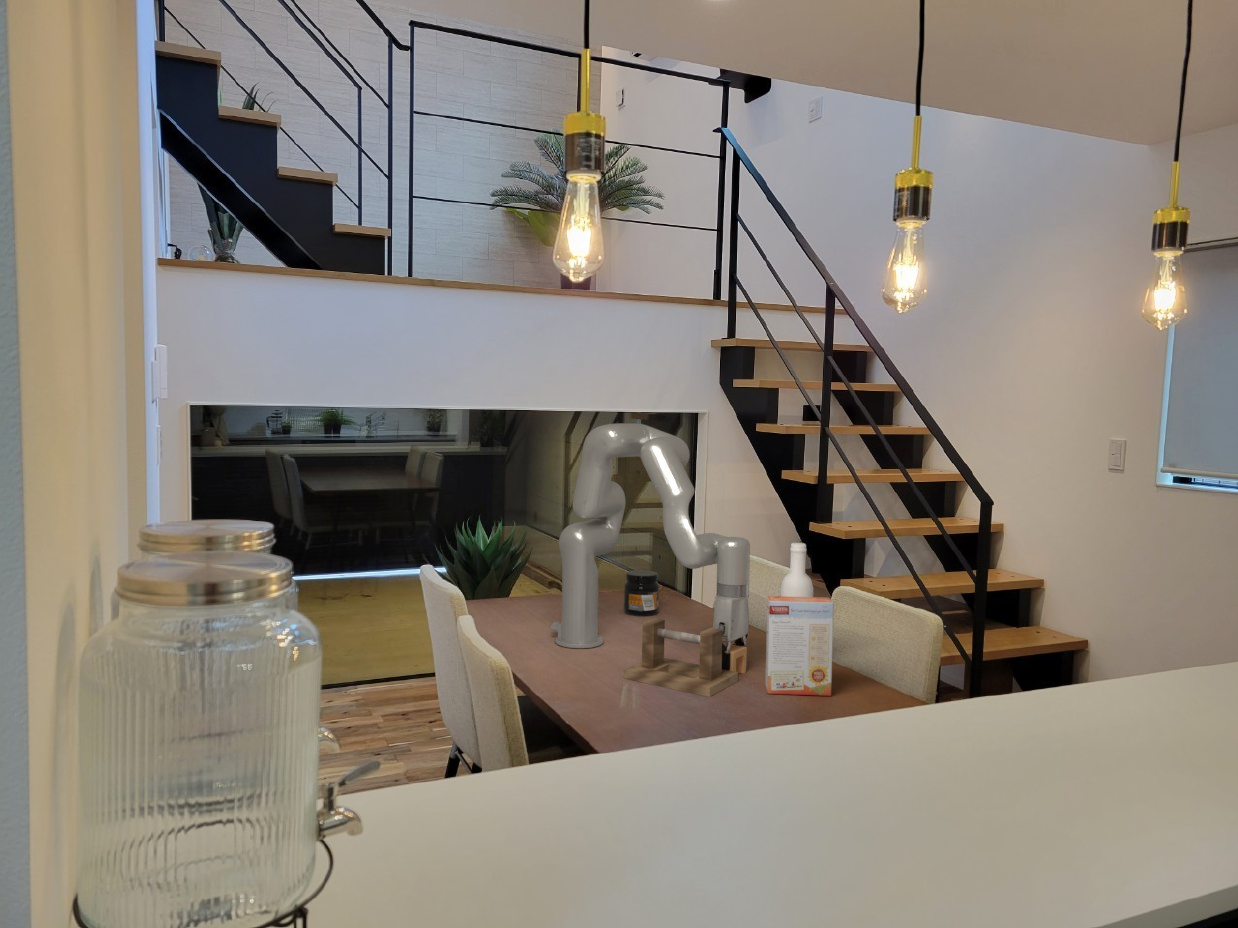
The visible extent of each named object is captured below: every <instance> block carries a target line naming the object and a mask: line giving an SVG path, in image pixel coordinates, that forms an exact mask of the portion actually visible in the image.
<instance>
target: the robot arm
mask: <svg viewBox="0 0 1238 928" xmlns="http://www.w3.org/2000/svg"><path fill="white" fill-rule="evenodd" d="M581 452H582V454H581V461H580V466H579V469H578V473H577V474H578V475H577V477H576V478H577V479H576V484H575V488H574V492H573V498H572V510H573V512H574V514H575V515H576V516H577V517H579V518H580V519H584V521H579V522H575V523H571V524H569V525H567V526H566V527H565V528H564V529H563V530H562V531H561V533H560V535H559V538H558V547H559V554H560V559H561V622H558V621H554V622H553V623H552V624H551V626H550V631H552V632H557V635H556V637H555V639H554V640H555V641H554V642H555V643H556V645H558V646H560V647H564V648H570V649H591V648H596V647H599V646H602V645H603V643H604V637H603V635H600V634H599V632H598V630H599V584H600V582H599V580H600V578H599V570H598V566H597V563H596V560H595V557H598V556H599V557H600V556H602V555H606V554H609V553H610V552H611V551H613V550H614V548H615V547H616V544H617V543H618V539H619V537H620V531H621V527H622V522H623V518H624V513H625V509H626V496H625V492H624V490H623V488H622V486H621V485H620V484H619V483H617V482H615V481H614V480H613V481H612V478H613V473H614V466H613V465H614V463H613V460H612V459H613V458H629V457H630V458H632V457H633V458H634V457H638V458H640V459H641V462H642V465H643V467H644V468H645V471H646V474H647V475H648V477H649V478H650V480H651V483H652V485H653V487H654V489H655V490H656V493H657V496H658V498H659V500H660V502H661V504H662V522H663V523H662V524H663V530H664V534H665V537H666V540H667V542H668V543H669V546H670V548H671V550H672V552H673V554H674V555H675V557H676V559H677V560H678V562H679V563H680V564H681V565H682V566H684V567H686V568H688V569H693V570H695V569H699V568H700V569H701V568H703V567H707V566H712V565H716V598H715V602H714V603H715V604H714V611H713V621H712V628H716V629H722V630H723V636H722V669H723V670H730V653H729V649H730V645H731V644H732V642H734V643H733V644H732V645H738V646H743V647H747V644H748V641H747V638H748V636H749V634H748V633H749V630H750V623H749V622H750V615H749V614H750V613H749V612H750V611H749V598H750V572H751V571H750V564H751V562H750V561H751V543H750V541H749V540H748V539H747V538H745V537H740V536H725V535H722V534H719V533H715V532H706V533H701V534H697V533H696V531H695V529H694V527H693V525H692V523H691V520H690V515H689V505H690V502H691V499H692V498H693V496H694V494H695V487H694V485H693V483H692V482H691V479H690V477H689V476H688V473H687V471H686V470H685V468H684V467H686V466H687V464H688V462H689V461H690V450H689V447H688V445H687V443H686V442H685V441H684V440H683V439H682V438H680V437H678V436H676V435H674V434H671V433H668V432H665V431H662V430H660V429H657V428H655V427H652V426H649V425H647V424H644V423H621V422H620V423H608V424H603V425H602V424H601V425H599V426H597V427H595V428H593V429H591V430H590V431H589V432H588V434H587V435H586V436H585V439H584V442H583V446H582V451H581ZM585 520H586V521H585ZM724 643H725V644H724ZM725 645H726V647H725Z"/></svg>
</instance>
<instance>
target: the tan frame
mask: <svg viewBox="0 0 1238 928" xmlns="http://www.w3.org/2000/svg"><path fill="white" fill-rule="evenodd" d="M665 627H666V619H661V618H656V617H653V618H650V619H648V620H645V621H642V635H641V636H642V642H641V644H642V645H641V646H642V647H641V661H640V662H639V663H636V664H634V665H632V666H629V667H627V668H625V669H624V670H623V679H625V680H629V681H635V682H640V683H643V684H649V685H653V686H657V687H661V688H666V689H671V690H674V691H675V690H676V691H680V692H684V693H685V692H686V693H689V694H695V695H700V696H703V697H709V698H710V697H712V696H714V695H716V694H717V693H719V692H722V690H724V689H727V688H728V687H729V686H732V685H733V684H735V683H737V682H738V681H739V673H738V672H734V671H729V670H723V669H722V643H723V642H722V636H723V630H722V629H716V628H713V627H709V628H707V629H704V630H702V631H700V633H699V634H700V635H699V634H695V633H689V632H683V631H677V630H674V629H673V630H672V629H666V628H665ZM665 639H667V640H673V641H678V642H685V643H690V644H695V645H699V664H698V663H697V664H696V663H693V662H687V661H682V660H677V659H672V658H665Z"/></svg>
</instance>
